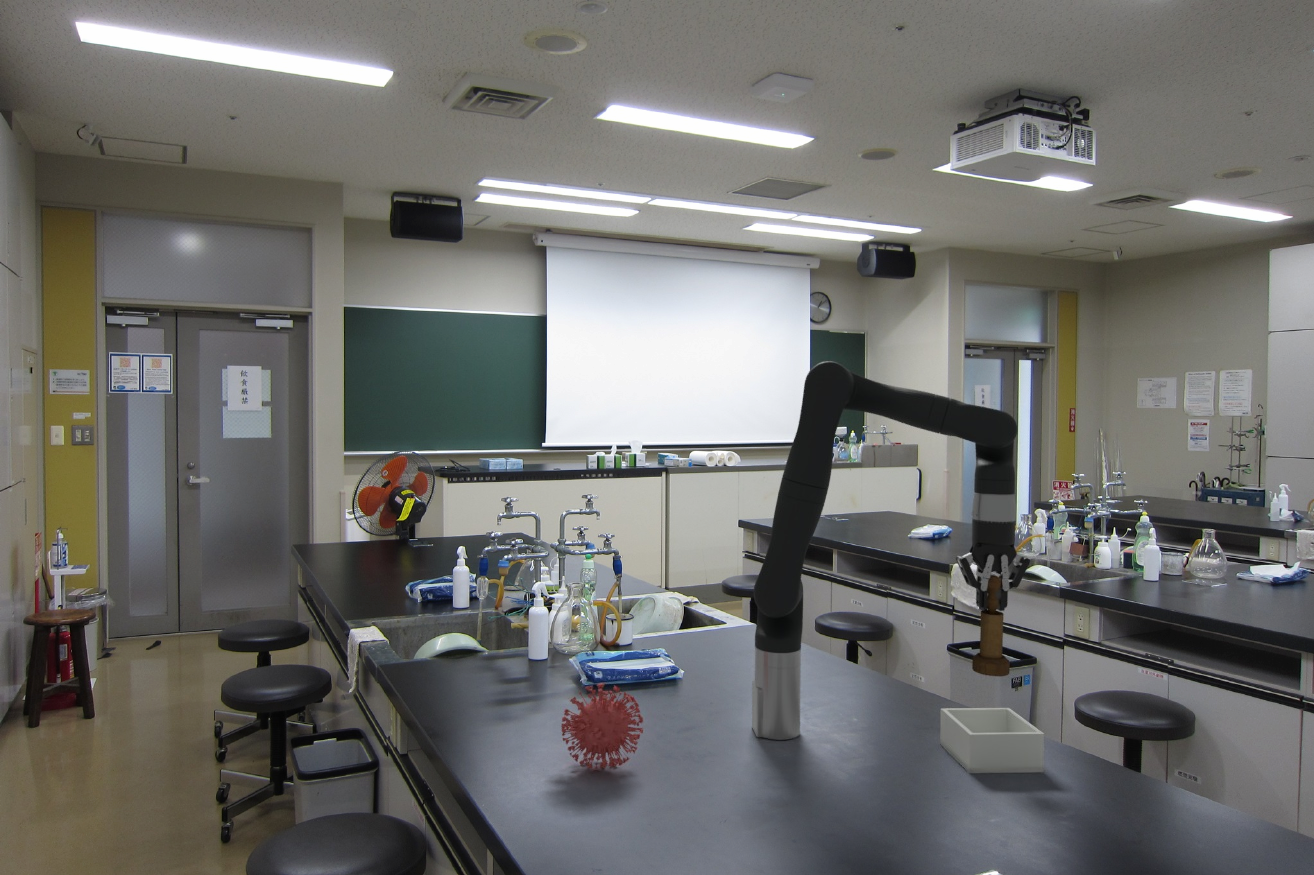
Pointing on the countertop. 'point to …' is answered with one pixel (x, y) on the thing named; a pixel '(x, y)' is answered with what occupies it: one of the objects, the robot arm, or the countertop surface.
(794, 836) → the countertop surface
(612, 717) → the virus model
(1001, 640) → the mortar and pestle
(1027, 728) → the box
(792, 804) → the countertop surface
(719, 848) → the countertop surface
